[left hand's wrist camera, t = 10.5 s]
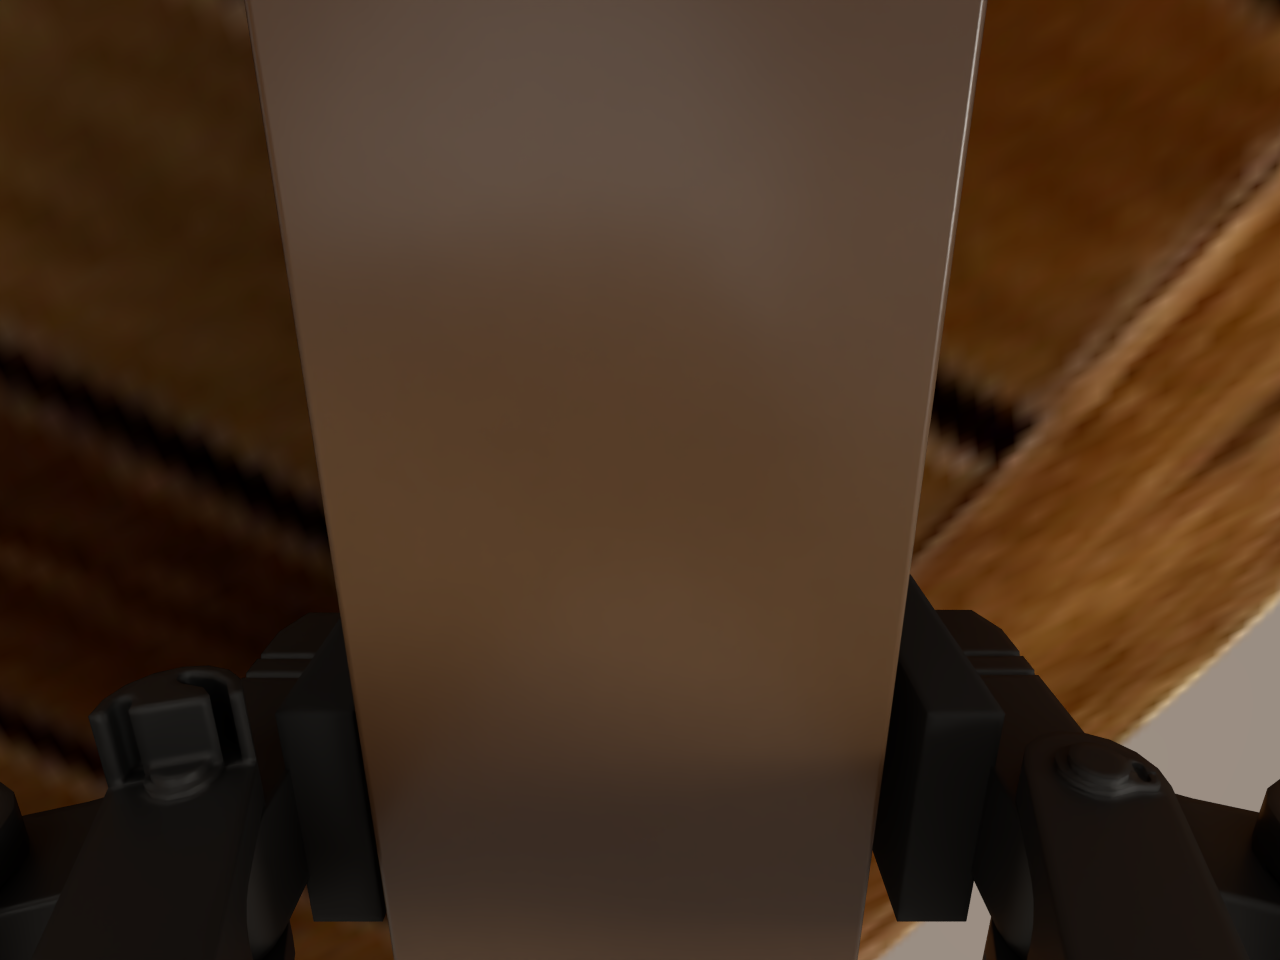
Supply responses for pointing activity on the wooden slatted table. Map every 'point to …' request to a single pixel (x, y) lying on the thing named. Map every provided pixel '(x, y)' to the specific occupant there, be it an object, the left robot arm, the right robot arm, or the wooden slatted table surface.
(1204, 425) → the wooden slatted table surface
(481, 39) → the beam
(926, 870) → the left robot arm
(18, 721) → the wooden slatted table surface
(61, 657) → the wooden slatted table surface
